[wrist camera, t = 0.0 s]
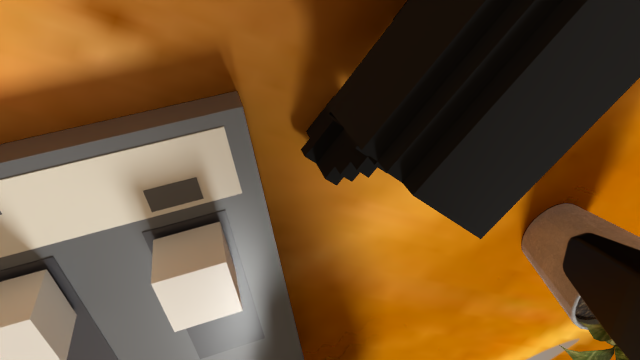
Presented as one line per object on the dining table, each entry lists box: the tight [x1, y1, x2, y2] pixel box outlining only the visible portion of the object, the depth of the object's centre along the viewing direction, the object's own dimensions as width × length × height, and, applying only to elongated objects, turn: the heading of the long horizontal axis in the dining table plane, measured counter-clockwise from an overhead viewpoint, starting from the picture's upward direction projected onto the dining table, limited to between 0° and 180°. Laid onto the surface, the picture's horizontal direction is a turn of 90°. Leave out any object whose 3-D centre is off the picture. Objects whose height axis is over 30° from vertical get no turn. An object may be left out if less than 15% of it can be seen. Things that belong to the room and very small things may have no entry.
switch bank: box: [0, 91, 304, 360], centre depth 23 cm, size 20×24×2 cm
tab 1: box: [0, 269, 77, 360], centre depth 20 cm, size 3×3×3 cm
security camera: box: [301, 0, 640, 239], centre depth 17 cm, size 7×18×10 cm, turn 140°
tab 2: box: [151, 222, 243, 332], centre depth 21 cm, size 3×3×3 cm
